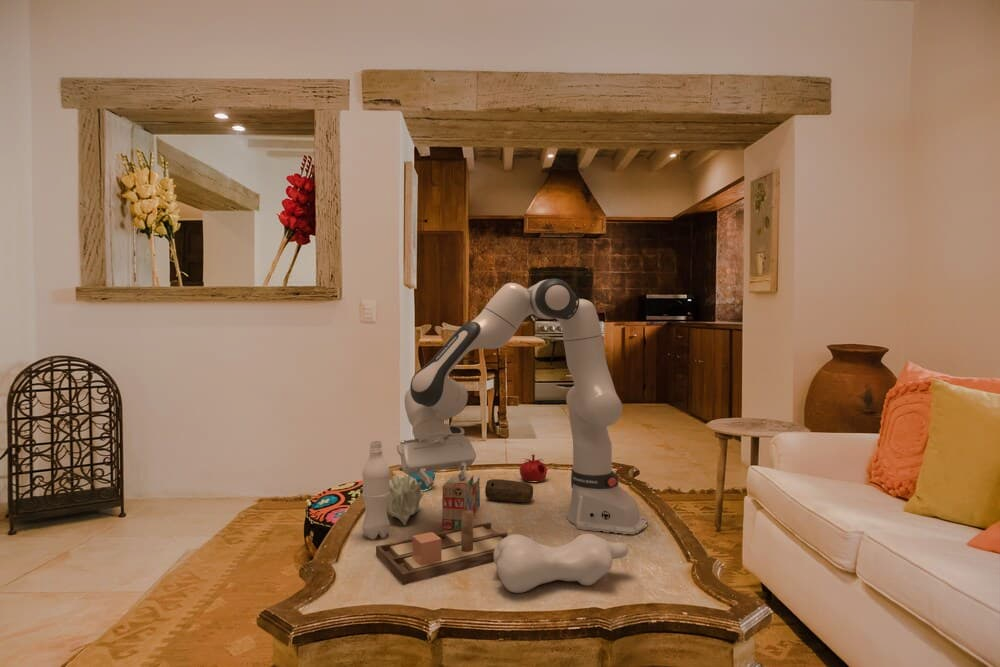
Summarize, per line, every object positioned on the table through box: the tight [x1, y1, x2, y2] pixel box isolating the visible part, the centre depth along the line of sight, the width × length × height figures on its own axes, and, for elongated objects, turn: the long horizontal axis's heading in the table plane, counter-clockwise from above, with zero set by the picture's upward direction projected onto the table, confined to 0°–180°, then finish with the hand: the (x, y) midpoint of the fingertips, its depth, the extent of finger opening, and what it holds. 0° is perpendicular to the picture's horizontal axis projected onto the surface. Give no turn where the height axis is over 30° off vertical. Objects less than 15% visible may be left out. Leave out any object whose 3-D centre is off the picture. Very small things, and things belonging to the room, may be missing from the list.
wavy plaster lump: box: [387, 474, 424, 526], centre depth 161 cm, size 18×13×16 cm
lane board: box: [375, 522, 509, 585], centre depth 135 cm, size 32×18×2 cm, turn 121°
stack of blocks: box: [441, 473, 481, 531], centre depth 162 cm, size 21×6×12 cm, turn 170°
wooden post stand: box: [404, 510, 503, 571], centre depth 131 cm, size 26×6×10 cm, turn 121°
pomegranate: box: [519, 454, 548, 482], centre depth 200 cm, size 10×10×9 cm
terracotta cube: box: [412, 531, 441, 565], centre depth 127 cm, size 5×5×5 cm
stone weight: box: [484, 478, 534, 503], centre depth 176 cm, size 15×7×7 cm, turn 81°
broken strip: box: [390, 526, 494, 557], centre depth 139 cm, size 26×6×1 cm, turn 121°
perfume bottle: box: [407, 471, 436, 490], centre depth 189 cm, size 9×9×15 cm
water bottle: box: [361, 440, 391, 540], centre depth 147 cm, size 7×7×25 cm
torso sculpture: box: [493, 533, 629, 594], centre depth 122 cm, size 16×11×30 cm
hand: (447, 482), depth 142 cm, fingers open, 8 cm apart
